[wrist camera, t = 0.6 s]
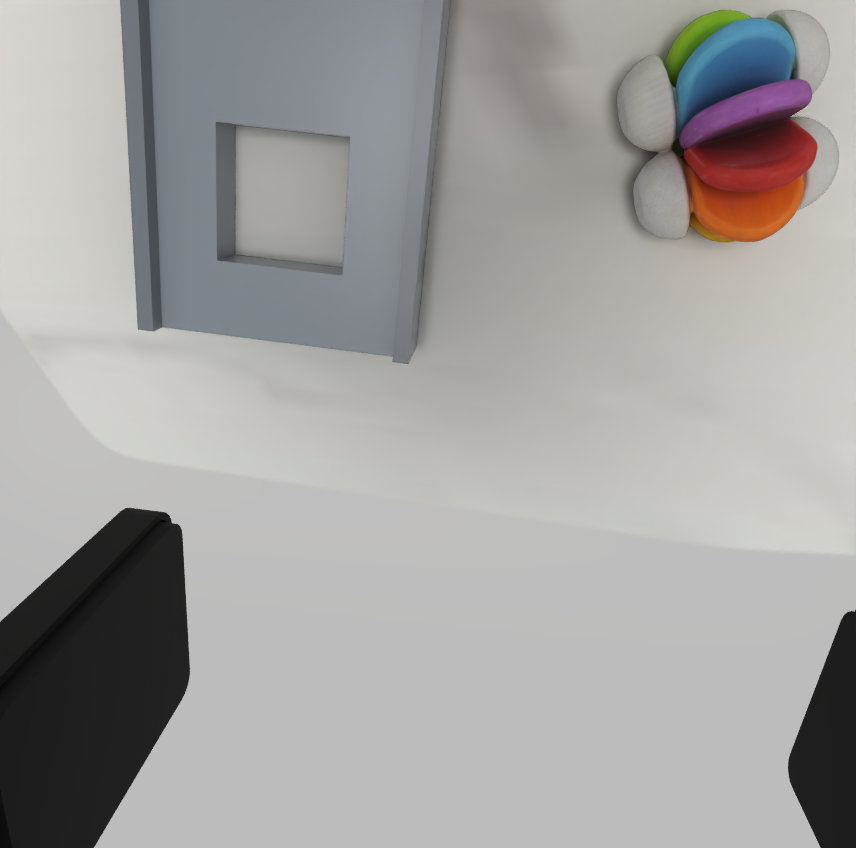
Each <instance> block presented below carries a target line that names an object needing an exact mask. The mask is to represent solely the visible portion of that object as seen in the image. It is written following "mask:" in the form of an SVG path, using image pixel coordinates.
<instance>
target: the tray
mask: <svg viewBox="0 0 856 848" xmlns="http://www.w3.org/2000/svg"><path fill="white" fill-rule="evenodd" d="M450 3H451V0H120V7H121V25H122V44H123V62H124V81H125V99H126V118H127V136H128V155H129V173H130V192H131V210H132V229H133V247H134V266H135V284H136V303H137V321H138V330H146V331H155V330H157V329H159V328H162V327H165V328H172V329H180V330H188V331H196V332H204V333H212V334H220V335H227V336H235V337H243V338H251V339H259V340H267V341H275V342H283V343H290V344H298V345H306V346H314V347H322V348H330V349H338V350H346V351H353V352H361V353H369V354H377V355H385V356H393V362H397V363H404V364H409V361H410V359H411V357H412V355H413V353H414V351H415V348H416V344H417V334H418V324H419V314H420V304H421V294H422V284H423V274H424V264H425V254H426V244H427V234H428V224H429V214H430V204H431V194H432V184H433V174H434V164H435V154H436V144H437V133H438V123H439V113H440V103H441V93H442V83H443V73H444V63H445V53H446V43H447V33H448V23H449V13H450ZM235 125H239V126H248V127H257V128H267V129H276V130H285V131H294V132H303V133H312V134H321V135H330V136H340V137H349V138H350V148H349V166H348V183H347V201H346V219H345V237H344V254H343V268H342V267H333V266H325V265H317V264H309V263H300V262H292V261H284V260H275V259H267V258H259V257H250V256H242V255H235Z"/></svg>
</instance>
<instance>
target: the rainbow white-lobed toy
mask: <svg viewBox="0 0 856 848" xmlns="http://www.w3.org/2000/svg"><path fill="white" fill-rule="evenodd" d="M829 57H830V46H829V40H828V37H827V34H826V32H825V30H824V28H823V27H822V26H821V24H820V23H819V22H818V21H817V20H816V19H815V18H813V17H812V16H810V15H809V14H806V13H804V12H801V11H796V10H780V11H776V12H773V13H772V14H770V15H769V16H768V17H767V18H766V19H764V18H751V17H750V16H748V15H746V14H744V13H741V12H737V11H732V10H719V11H716V12H712V13H709V14H706V15H703V16H701V17H699V18H697V19H696V20H694V21H693V22H692V23H690V24H689V25H688V26H687V27H686V28H685V29H684V30H683V31H682V32H681V33H680V35H679V36H678V37H677V39H676V40H675V42H674V43H673V45H672V47H671V49H670V51H669V53H668V55H667V58H666V60H665V61H664V63H663V62H662V60H661V58H660V57H659V56H657V55H655V54H653V55H649V56H647V57H646V58H644V59H642V60H641V61H639V62H638V63H637V64H636V65H635V66H634V67H633V68H632V69H631V70H630V71H629V72H628V74H627V75H626V77H625V78H624V80H623V82H622V84H621V86H620V88H619V91H618V95H617V108H618V116H619V122H620V125H621V129H622V131H623V134H624V135H625V137H626V138H627V139H628V140H629V141H630V142H631V143H633V144H634V145H635V146H637V147H639V148H641V149H644V150H647V151H655V152H658V154H657V155H656V156H655V157H654V158H652V159H651V160H649V161H648V162H647V163H646V164H645V166H644V167H643V168H642V169H641V171H640V172H639V174H638V176H637V178H636V180H635V183H634V188H633V197H634V205H635V210H636V214H637V217H638V220H639V222H640V224H641V225H642V226H643V227H644V228H645V229H646V230H647V231H649V232H650V233H651V234H653V235H655V236H657V237H660V238H664V239H681V238H683V237H685V235H686V233H687V231H688V227H689V226H692V228H693V229H694V230H696V231H697V232H698V233H699V234H701V235H702V236H704V237H706V238H708V239H710V240H713V241H718V242H733V241H742V242H755V241H760V240H762V239H764V238H767V237H769V236H771V235H773V234H774V233H776V232H777V231H778V230H780V229H781V228H782V227H783V226H784V225H786V224H787V223H788V222H789V220H790V219H791V218H792V217H793V215H794V214H795V213H796V211H797V210H799V209H802V208H804V207H806V206H808V205H810V204H811V203H813V202H814V201H816V200H817V199H818V198H819V197H820V196H821V195H822V194H823V193H824V192H825V191H826V190H827V189H828V187H829V186H830V185H831V183H832V181H833V179H834V177H835V175H836V172H837V169H838V163H839V151H838V146H837V142H836V140H835V138H834V136H833V134H832V133H831V132H830V131H829V130H828V129H827V128H826V127H825V126H824V125H823V124H821V123H819V122H818V121H816V120H813V119H810V118H806V117H791V116H792V115H794V114H795V113H797V112H798V111H800V110H802V109H803V108H805V107H806V106H807V105H808V104H809V103H810V101H811V98H812V94H813V93H814V92H815V91H816V89H817V88H818V87H819V85H820V84H821V82H822V80H823V78H824V76H825V74H826V71H827V68H828V64H829ZM677 138H679V143H680V145H681V147H682V148H683V149H684V154H683V155H682V156H681V157H679V156H678V155H676V154H675V153H674V152H673V151H672V149H671V148H672V144H673V142H674V141H675V139H677Z"/></svg>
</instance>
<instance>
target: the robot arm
mask: <svg viewBox="0 0 856 848" xmlns="http://www.w3.org/2000/svg"><path fill="white" fill-rule="evenodd" d="M182 540H183V538H182V530H181V528H180V526H179V525H178V524H173V523H172V522H171V518H170V516H169V515H168V514H167V513H165V512H158V511H150V510H142V509H134V508H125V509H124V510H122V511H121V512H120V513H118V514H117V515H116V516H115V517H114V518H113V519H112V520H111V521H110V522H109V523H108V524H106V525H105V526H104V527H103V528H102V529H101V530H100V531H99V532H98V533H97V534H96V535H94V536H93V537H92V538H91V539H90V540H89V541H88V542H87V543H86V544H85V545H84V546H83V547H81V548H80V549H79V550H78V551H77V552H76V553H75V554H74V555H73V556H72V557H71V558H69V559H68V560H67V561H66V562H65V563H64V564H63V565H62V566H61V567H60V568H58V569H57V570H56V571H55V572H54V573H53V574H52V575H51V576H50V577H49V578H48V579H46V580H45V581H44V582H43V583H42V584H41V585H40V586H39V587H38V588H37V589H36V590H34V591H33V592H32V593H31V594H30V595H29V596H28V597H27V598H26V599H25V600H24V601H23V602H21V603H20V604H19V605H18V606H17V607H16V608H15V609H14V610H13V611H12V612H11V613H10V614H8V615H7V616H6V617H5V618H4V619H3V620H2V621H1V622H0V848H94V846H95V845H96V843H97V841H98V840H99V838H100V836H101V835H102V833H103V831H104V829H105V828H106V826H107V825H108V823H109V821H110V819H111V818H112V816H113V814H114V813H115V811H116V809H117V808H118V806H119V804H120V802H121V801H122V799H123V798H124V796H125V794H126V793H127V791H128V789H129V787H130V786H131V784H132V782H133V781H134V779H135V777H136V776H137V774H138V772H139V771H140V769H141V767H142V766H143V764H144V762H145V760H146V759H147V757H148V755H149V754H150V752H151V750H152V749H153V747H154V745H155V744H156V742H157V740H158V739H159V736H160V735H161V734H162V732H163V730H164V729H165V727H166V725H167V723H168V722H169V720H170V718H171V717H172V715H173V713H174V712H175V710H176V708H177V707H178V705H179V703H180V701H181V700H182V698H183V696H184V694H185V691H186V688H187V685H188V681H189V675H190V665H189V648H188V629H187V612H186V594H185V575H184V557H183V541H182ZM788 772H789V778H790V782H791V785H792V787H793V790H794V792H795V794H796V796H797V798H798V801H799V803H800V805H801V807H802V809H803V811H804V813H805V815H806V817H807V820H808V822H809V824H810V826H811V828H812V830H813V832H814V834H815V836H816V839H817V841H818V843H819V845H820V847H821V848H856V610H855V612H852V611H851V612H847V613H846V614H845V615H844V616H843V618H842V620H841V622H840V625H839V628H838V630H837V633H836V635H835V638H834V641H833V643H832V646H831V649H830V651H829V654H828V656H827V659H826V662H825V664H824V667H823V669H822V672H821V675H820V677H819V680H818V683H817V685H816V688H815V690H814V693H813V696H812V698H811V701H810V704H809V706H808V709H807V711H806V714H805V717H804V719H803V722H802V725H801V727H800V730H799V732H798V735H797V738H796V740H795V743H794V746H793V748H792V751H791V753H790V757H789V762H788Z"/></svg>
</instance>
